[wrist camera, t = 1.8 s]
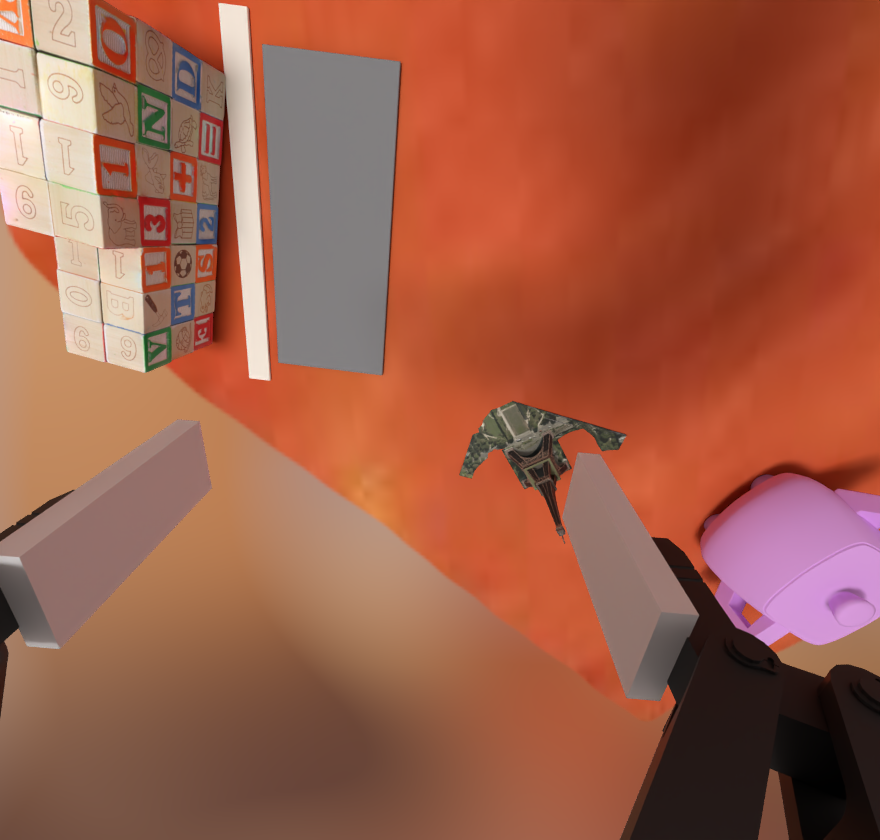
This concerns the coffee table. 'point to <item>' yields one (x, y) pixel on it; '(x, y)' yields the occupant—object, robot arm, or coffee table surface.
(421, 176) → the coffee table surface
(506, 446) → the eiffel tower figurine
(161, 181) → the stack of blocks
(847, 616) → the teapot
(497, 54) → the coffee table surface
